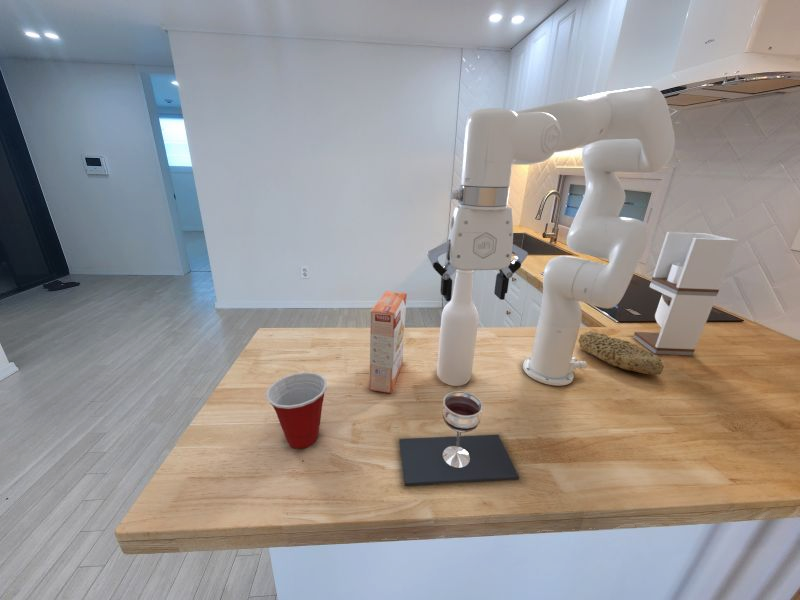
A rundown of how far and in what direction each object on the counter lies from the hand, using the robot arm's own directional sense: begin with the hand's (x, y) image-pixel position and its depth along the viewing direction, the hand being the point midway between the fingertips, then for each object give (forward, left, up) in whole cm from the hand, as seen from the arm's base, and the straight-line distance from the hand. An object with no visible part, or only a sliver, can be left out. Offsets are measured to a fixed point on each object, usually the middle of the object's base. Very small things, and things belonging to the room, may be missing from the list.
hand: (473, 297), depth 60 cm
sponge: (-52, -22, -29) cm, 64 cm away
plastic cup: (+32, +2, -29) cm, 43 cm away
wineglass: (+3, +9, -28) cm, 30 cm away
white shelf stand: (-74, -31, -29) cm, 86 cm away
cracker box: (+14, -18, -29) cm, 37 cm away
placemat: (+3, +9, -29) cm, 30 cm away
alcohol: (-3, -17, -29) cm, 34 cm away
